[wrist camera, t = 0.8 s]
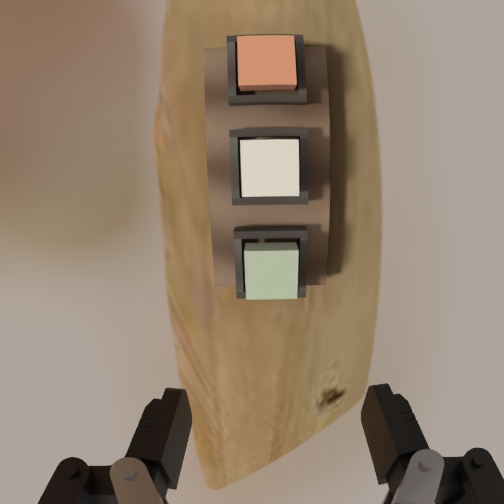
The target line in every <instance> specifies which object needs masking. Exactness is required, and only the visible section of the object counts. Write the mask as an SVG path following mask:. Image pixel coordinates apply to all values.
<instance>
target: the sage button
mask: <svg viewBox="0 0 504 504" xmlns="http://www.w3.org/2000/svg"><path fill="white" fill-rule="evenodd" d="M298 256H299V250H298V247H297V244H296V242H280V243H246V244H245V249H244V260H245V285H246V299H297V289H298Z"/></svg>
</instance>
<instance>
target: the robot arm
mask: <svg viewBox="0 0 504 504" xmlns="http://www.w3.org/2000/svg"><path fill="white" fill-rule="evenodd" d="M361 422H362V426H363V429H364V432H365V436H366V439H367V443H368V446H369V450H370V454H371V457H372V461H373V465H374V468H375V472H376V476H377V480H378V484H379V485H380V484H385V483H388V486H389V490H388V491H387V494H386V496H385V498H384V500H383V503H382V504H434V503H435V504H504V479H503V477H502V475H501V473H500V471H499V469H498V468H497V466H496V464H495V462H494V460H493V458H492V456H491V455H490V453H489V452H488V451H487V450H485V449H483V448H473V449H471V450H469V451H468V452H467V453H466V454H465V455H464V456H463V457H442V456H441V455H440V454H439V453H438V452H436V451H434V450H431V449H430V448H429V446H428V444H427V442H426V440H425V438H424V435H423V433H422V431H421V429H420V426H419V424H418V422H417V420H416V418H415V415H414V413H412V409H411V407H410V405H409V403H408V401H407V400H406V399H405V398H404V397H403V396H402V395H400V394H394V395H393V392H392V391H391V388H390V386H389V385H388V384H387V383H386V384H379V385H372V386H369V388H368V391H367V394H366V398H365V401H364V404H363V407H362V411H361ZM191 426H192V413H191V409H190V405H189V401H188V397H187V393H186V390H185V389H175V388H166V389H165V391H164V394H163V397H162V399H153V400H152V401H151V402H150V403H149V404H148V405H147V406H146V407H145V409H144V412H143V414H142V418H141V419H140V421H139V424H138V427H137V429H136V431H135V433H134V436H133V438H132V441H131V443H130V446H129V449H128V451H127V453H126V455H125V457H124V458H121V459H119V460H117V461H116V462H115V463H113V465H110V466H88V465H87V464H86V463H85V462H84V461H83V460H81V459H79V458H75V457H70V458H67V459H64V460H63V461H61V462H60V463H59V465H58V467H57V468H56V470H55V472H54V474H53V476H52V477H51V479H50V481H49V483H48V485H47V487H46V489H45V491H44V493H43V495H42V496H41V498H40V500H39V502H38V504H169V503H168V501H167V499H166V493H167V489H168V488H169V489H175V490H176V488H177V484H178V479H179V475H180V471H181V467H182V463H183V459H184V454H185V451H186V446H187V442H188V438H189V434H190V430H191Z"/></svg>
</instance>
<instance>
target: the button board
mask: <svg viewBox="0 0 504 504" xmlns="http://www.w3.org/2000/svg"><path fill="white" fill-rule="evenodd" d="M256 35H292V34H256ZM256 35H235V36H227V47H220V48H209V49H204V55H205V115H206V144H207V168H208V187H209V205H210V221H211V236H212V250H213V263H214V275H215V286H236V293H237V298H246V285H245V260H244V249H245V244H246V243H280V242H296V244H297V247H298V250H299V256H298V289H297V298H299V297H305V296H306V285H326V275H327V260H328V241H329V216H330V115H329V91H328V74H327V60H326V47H317V46H304V42H303V35H292V36H294V44H295V61H296V79H297V85H296V87H295V89H294V90H255V91H240V88H239V86H238V49H237V36H256ZM270 139H299V196H264V197H242V181H241V152H240V140H270Z"/></svg>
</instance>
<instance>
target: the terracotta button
mask: <svg viewBox="0 0 504 504" xmlns="http://www.w3.org/2000/svg"><path fill="white" fill-rule="evenodd" d="M237 49H238V86H239V88H240V91H255V90H294V89H295V87H296V85H297V79H296V61H295V44H294V36H292V35H256V36H237Z"/></svg>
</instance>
